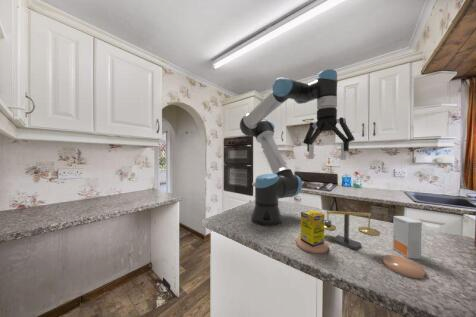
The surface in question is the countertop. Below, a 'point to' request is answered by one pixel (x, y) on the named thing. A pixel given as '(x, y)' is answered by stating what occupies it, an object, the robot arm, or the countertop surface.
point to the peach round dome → (316, 250)
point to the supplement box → (312, 227)
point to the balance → (345, 239)
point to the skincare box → (407, 236)
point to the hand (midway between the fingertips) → (326, 159)
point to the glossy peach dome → (403, 266)
